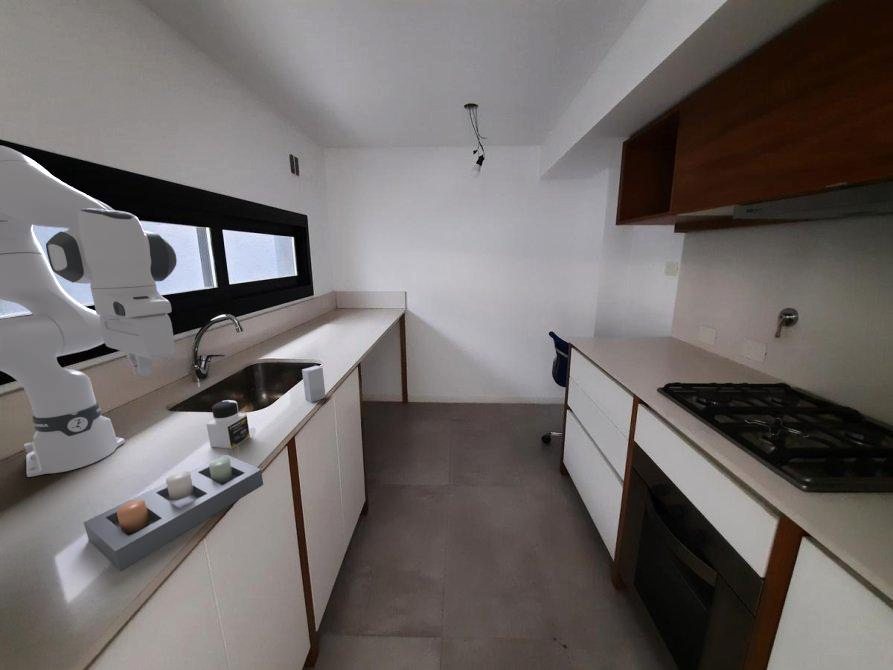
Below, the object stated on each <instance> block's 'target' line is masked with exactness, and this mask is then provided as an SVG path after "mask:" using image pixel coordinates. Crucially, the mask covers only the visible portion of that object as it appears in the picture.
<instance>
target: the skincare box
mask: <svg viewBox="0 0 893 670" xmlns="http://www.w3.org/2000/svg"><path fill="white" fill-rule="evenodd" d="M323 370H324V369H323V367H322V366H320V365H313V366H311V367H306V368H303V369H301V373H302V374H301V375H302V382H303V389H304V397H305V401H307V402H309V403H314V402H317V401H319V400H322V399H324V398H326V397H327V396H326V387H325V378H324V371H323Z"/></svg>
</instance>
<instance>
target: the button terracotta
mask: <svg viewBox="0 0 893 670" xmlns="http://www.w3.org/2000/svg"><path fill="white" fill-rule="evenodd" d="M117 516H118V520H119V524H120V527H121V531H123V532H124V533H132V532H135V531H137V530H140V529H141V528H143V527H144V526H146V525H147V524H148V522H149V517H148V512H147V508H146V504H145V501H144V500H135V501H131V502H129V503H126V504H125V505H123V506H121V507H120V508H119V509H118V510H117Z"/></svg>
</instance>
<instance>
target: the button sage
mask: <svg viewBox="0 0 893 670" xmlns="http://www.w3.org/2000/svg"><path fill="white" fill-rule="evenodd" d="M209 469H210V474H211V479H212V480H213V481H215V482H217V483H219V484H223V483H226V482H228V481H229V480H231V479H232V477H233V475H232V469H231V463H230V459H228V458H223V459H218V460H216V461H214V462H212V463H211V464H210V465H209Z"/></svg>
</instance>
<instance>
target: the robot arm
mask: <svg viewBox="0 0 893 670" xmlns="http://www.w3.org/2000/svg"><path fill="white" fill-rule="evenodd" d="M33 226H37V227H44V228H53V229H54V228H56V229H64V230H65V229H66V230H65V231H59V232H57V233H55V234H54V235H53V236H51V238H50V239H49V240H48V241H47V242H46V243H45V249H46V254H47V255H46V254H45V253H44V250H43V247H42V246H41V245H40V242H39V241H38V239H37V237H36V236H35V233H34V231H33V228H34V227H33ZM46 256H47V257H46ZM47 258H48V259H47ZM177 260H178V259H177V254H176V252H175V249H174V248H173V246H172V244H170V243H169V242H168V241H167V239H165V237H163V236H161V235H160V234H159V233H157V232H153V231H149V230H146V229H144V228H143V226H142V224H141V221H140V220H139V217H137V216H136V215H134V214H132V213H130V212H127V211H122V210H115V209H113V208H112V207H111V206H109V205H107V204H106V203H104V202H102V201H100V200H99V199H96V198H94V197H92V196H90V195H87V194H86V193H84V192H82V191H80V190H78V189H76V188H74V187H73V186H70V185H68V184H67V183H65V182H63V181H61V180H60V179H59V178H57V177H55V176H54V175H52V174H51V173H50V172H49V171H48V170H47V169H45V168H44V167H43V166H42V165H40V164H39V163H37V162H36V161H35V160H33V159H32V158H30V157H29V156H27V155H25V154H23V153H22V152H19V151H18V150H15V149H13V148H11V147H8V146H5V145H0V300H2V301H6V302H9V303H15V304H17V305H19V306H22V307H24V308H25V309H27V310H28V311H29V312H30V313H31V314H32V315H30V314H29V315H23V316H16V317H14V316H13V317H9V318H1V319H0V372H3V373H5V374H7V375H8V376H10V377H12V378H13V379H14V380H16V381H17V382H18V383H19V384H20V386H22V388H23V390H24V392H25V393H26V396H27V398H28V400H29V403H30V406H31V409H32V412H33V415H32V425H33V427H34V429H35V432H34V435H33V437H32V438H33V439H32V442H26V443H24V444H23V445H24V449H25V452H26V453H27V454H26V456H25V457H26V460H25V461H26V462H25V463H26V477H27V478H29V477H30V478H31V477H36V476H41V475H47V474H48V475H49V474H57V473H58V474H59V473H64V472H69V471H72V470H76V469H79V468H82V467H86V466H89V465H92V464H94V463H96V462H98V461H100V460H102V459H104V458H107V457H108V456H110V455H112V453H114V452H115V450H116V449H117V448H119V447H120V446H122V445H123V444H125V442H126V441H125V438H122V437H117V436H116V433H115V429H114V426H113V424H112V421H111V418H109V417H106V416H103V415H102V410H101V405H100V404H99V402H98V400H96V397H95V393H94V389H93V386H92V381H91V378H90V376H89V375H87V374H86V373H85V372H83V371H81V370H77V369H70V368H63V367H62V366H61V365H60V364H59V362H58V357H62V356H67V355H72V354H76V353H81V352H84V351H88V350H91V349H93V348H96V347H99V346H101V345H103V344H105V346H106V347H108V348H110V349H115V350H117V351H121V352H123V353H125V355H126V358H127V360H128V361H129V363H130V365H131V367H132V371H133V374H134V375H138V376H140V377H147V376H151V375H152V374H153V370H152V363H153V362H152V361H153V360H157V359H158V360H159V359H162V358H163V359H164V358H167V357H171V356H172V355H173V354H174V351H175V338H174V331H173V326H172V325H173V323H172V321H171V318H170V316H169V315H168V314H170V313H172V304H171V302H170V301H169V300H168V299H167V298H165V297H163V296H162V295H161V294H160V292H159V291H158V288H157V284H156V282H163V281H164V280H166V279H167V278H168V277H169V276H170V275H171V274H172V273H173V271H174V270H175V269H176V267H177ZM48 261H49V262H48ZM54 273H55V274H56V275H58V276H60V277H61V278H62V279H65V280H66V281H68V282H70V283H72V284H73V283H77V284H84V285H85V284H90V292H91V296H92V299H93V300H92V301H93V304H94V308H95V310H94V309H91V308H88V307H86V306H84V305H83V304H81V303H80V302H78V301H76V300H75V299H74V298H73V297H71V296H70V295H69V293H67V292H66V291H65V289H64V288H63V287H62V286H61V285H60V283H59V281H58V279H57V278H56V276H55V274H54Z"/></svg>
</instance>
